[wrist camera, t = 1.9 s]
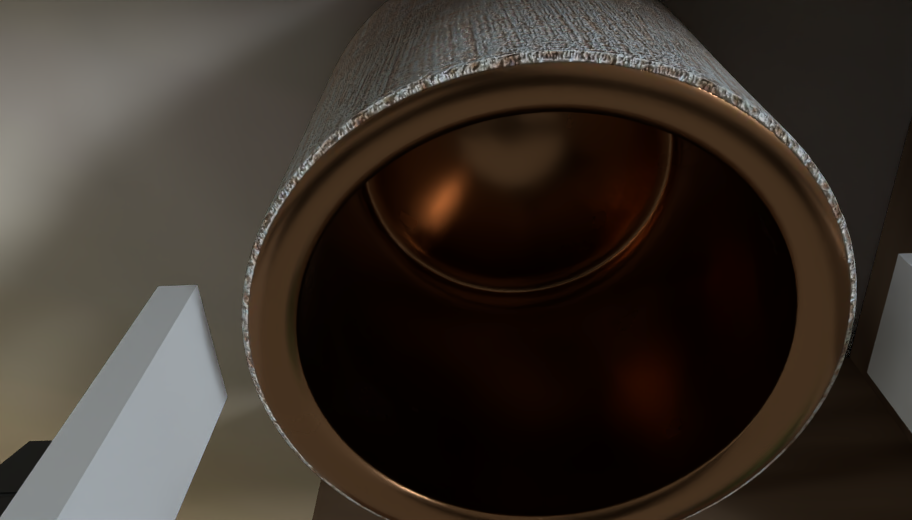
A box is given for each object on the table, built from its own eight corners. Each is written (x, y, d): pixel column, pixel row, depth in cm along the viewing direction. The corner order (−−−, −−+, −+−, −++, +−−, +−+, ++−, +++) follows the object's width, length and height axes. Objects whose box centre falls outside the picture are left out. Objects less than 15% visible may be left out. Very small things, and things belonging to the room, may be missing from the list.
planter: (276, 233, 23) (170, 467, 15) (408, -134, 18) (358, -92, 10) (589, 349, 25) (651, 611, 17) (787, 50, 20) (1014, 215, 12)
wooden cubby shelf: (240, -217, 17) (-111, -271, 7) (1069, -277, 16) (2129, -440, 6) (348, 403, 26) (272, 784, 16) (877, 383, 26) (1158, 767, 15)
